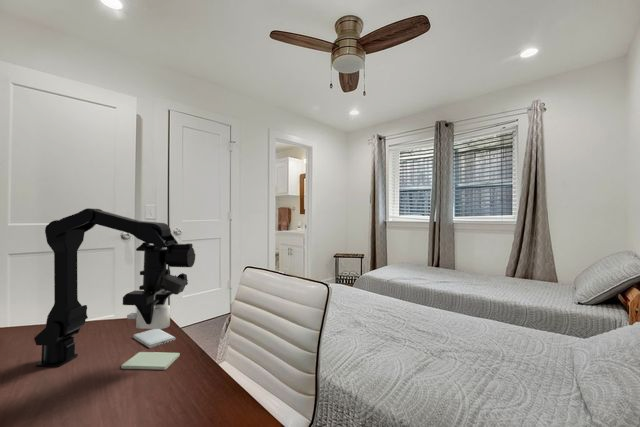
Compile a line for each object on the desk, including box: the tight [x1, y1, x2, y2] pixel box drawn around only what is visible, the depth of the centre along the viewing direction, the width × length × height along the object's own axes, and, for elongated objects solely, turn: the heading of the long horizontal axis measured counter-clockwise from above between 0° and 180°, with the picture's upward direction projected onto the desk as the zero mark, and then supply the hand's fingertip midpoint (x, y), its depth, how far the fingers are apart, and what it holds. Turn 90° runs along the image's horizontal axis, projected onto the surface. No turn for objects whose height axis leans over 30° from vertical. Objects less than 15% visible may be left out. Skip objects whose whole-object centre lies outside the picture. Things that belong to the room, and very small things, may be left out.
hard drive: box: [132, 329, 176, 349], centre depth 98 cm, size 2×8×12 cm
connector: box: [126, 304, 171, 330], centre depth 83 cm, size 11×4×6 cm, turn 90°
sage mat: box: [121, 351, 181, 371], centre depth 83 cm, size 12×8×1 cm, turn 90°
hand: (153, 321), depth 83 cm, fingers closed on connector, 4 cm apart
